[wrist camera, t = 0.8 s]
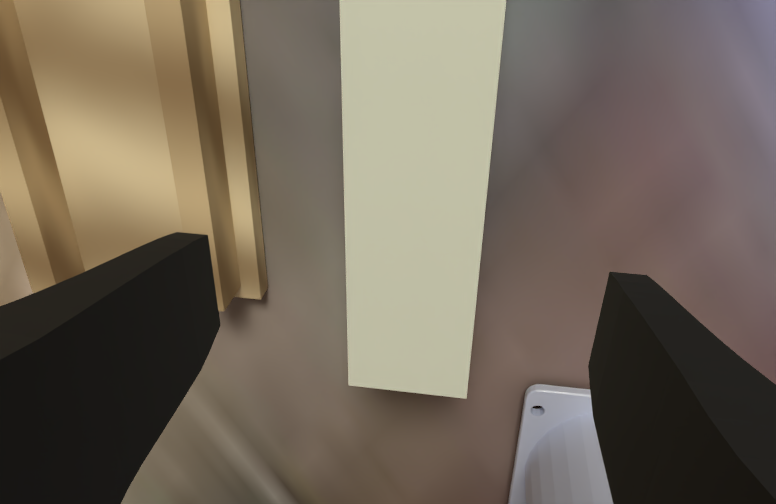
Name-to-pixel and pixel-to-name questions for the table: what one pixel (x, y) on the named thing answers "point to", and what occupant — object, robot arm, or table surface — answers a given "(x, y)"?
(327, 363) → the table surface
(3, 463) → the robot arm
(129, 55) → the tan flat piece
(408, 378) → the cream rectangular block
